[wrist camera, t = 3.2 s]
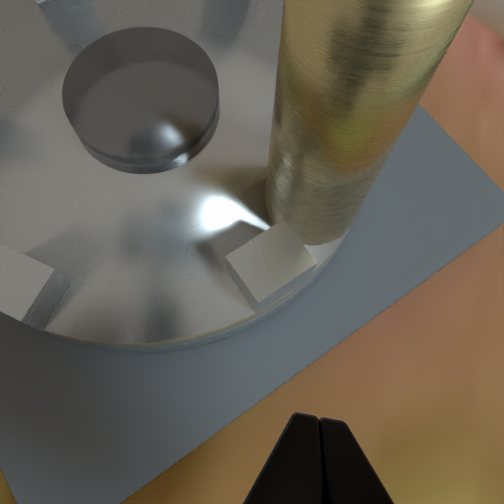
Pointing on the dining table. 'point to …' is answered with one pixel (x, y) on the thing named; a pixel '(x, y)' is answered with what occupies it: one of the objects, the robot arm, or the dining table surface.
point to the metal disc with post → (194, 154)
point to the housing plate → (230, 340)
